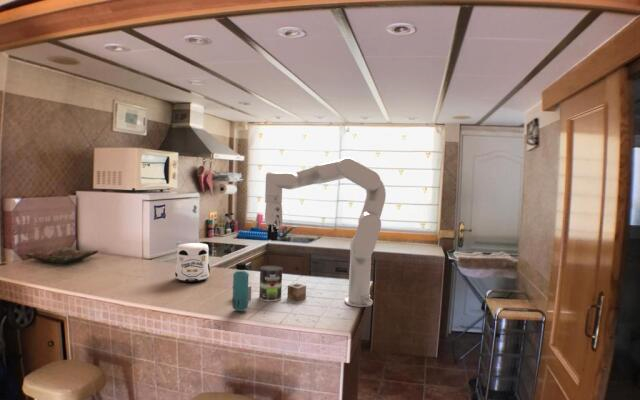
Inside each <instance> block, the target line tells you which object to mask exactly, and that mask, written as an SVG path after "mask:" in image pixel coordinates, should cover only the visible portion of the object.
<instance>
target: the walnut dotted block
mask: <svg viewBox="0 0 640 400" xmlns="http://www.w3.org/2000/svg"><path fill="white" fill-rule="evenodd" d="M286 297H287V299H289V300H291V301H295V302H299V301H302V300H304V299H306V298H307V285H305V284H301V283H298V282H296V283H292V284H288V285H287V295H286Z"/></svg>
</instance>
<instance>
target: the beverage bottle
mask: <svg viewBox="0 0 640 400" xmlns="http://www.w3.org/2000/svg"><path fill="white" fill-rule="evenodd" d="M235 270H236V271H235V272H234V273H233V280H232V300H231V302H232V309H233V310H236V311H244V310H247V309H248V306H249V300H248V283H249V275H250V274H249V273H248V272H247V271H246V270H247V264H246V263H244V262H238V263H236V265H235Z"/></svg>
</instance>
